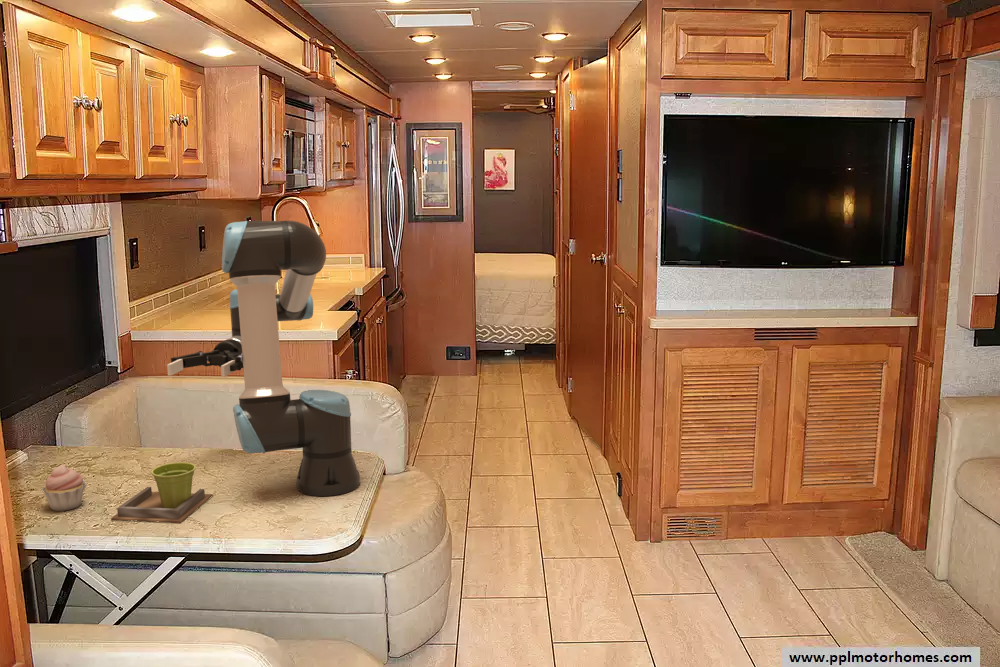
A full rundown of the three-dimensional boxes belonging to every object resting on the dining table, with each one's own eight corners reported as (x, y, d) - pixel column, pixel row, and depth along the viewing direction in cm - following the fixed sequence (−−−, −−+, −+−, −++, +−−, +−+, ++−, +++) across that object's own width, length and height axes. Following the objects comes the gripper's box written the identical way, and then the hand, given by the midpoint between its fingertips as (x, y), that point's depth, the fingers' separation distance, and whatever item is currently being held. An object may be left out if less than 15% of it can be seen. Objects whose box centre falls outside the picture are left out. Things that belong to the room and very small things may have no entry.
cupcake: (96, 505, 197) (92, 463, 195) (54, 517, 190) (49, 474, 188) (78, 495, 203) (74, 455, 201) (36, 507, 196) (32, 465, 194)
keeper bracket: (212, 496, 202) (212, 486, 202) (180, 523, 187) (179, 512, 186) (148, 493, 204) (147, 483, 203) (111, 520, 188) (110, 509, 188)
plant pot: (151, 502, 197) (148, 466, 196) (194, 494, 202) (192, 459, 200) (156, 516, 189) (153, 478, 188) (201, 508, 194) (198, 471, 192)
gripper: (278, 367, 227) (246, 387, 206) (188, 365, 230) (147, 384, 209) (276, 339, 226) (244, 356, 205) (186, 338, 228) (145, 354, 208)
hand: (195, 370), depth 207 cm, fingers open, 13 cm apart
